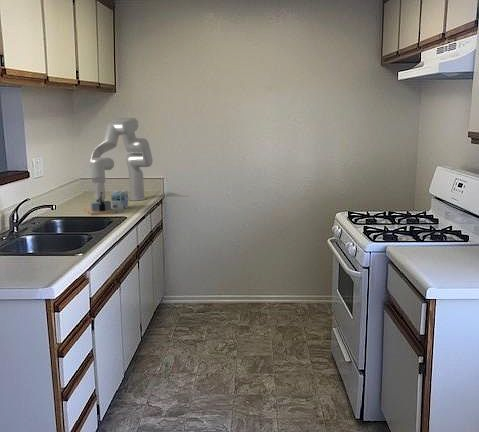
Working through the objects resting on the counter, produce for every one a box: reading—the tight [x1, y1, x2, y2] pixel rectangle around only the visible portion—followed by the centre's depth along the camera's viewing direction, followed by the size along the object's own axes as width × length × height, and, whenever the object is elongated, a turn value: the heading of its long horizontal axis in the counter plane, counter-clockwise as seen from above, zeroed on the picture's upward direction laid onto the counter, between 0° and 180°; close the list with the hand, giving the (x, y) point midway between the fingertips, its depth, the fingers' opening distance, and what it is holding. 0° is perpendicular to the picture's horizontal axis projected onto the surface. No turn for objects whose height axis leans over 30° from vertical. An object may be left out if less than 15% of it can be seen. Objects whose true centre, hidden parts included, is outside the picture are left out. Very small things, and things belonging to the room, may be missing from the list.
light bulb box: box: [110, 189, 129, 211], centre depth 344 cm, size 11×7×11 cm, turn 168°
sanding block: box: [90, 200, 112, 212], centre depth 331 cm, size 6×11×5 cm, turn 112°
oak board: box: [82, 206, 116, 216], centre depth 337 cm, size 22×14×2 cm, turn 27°
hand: (101, 209), depth 331 cm, fingers closed on sanding block, 6 cm apart
